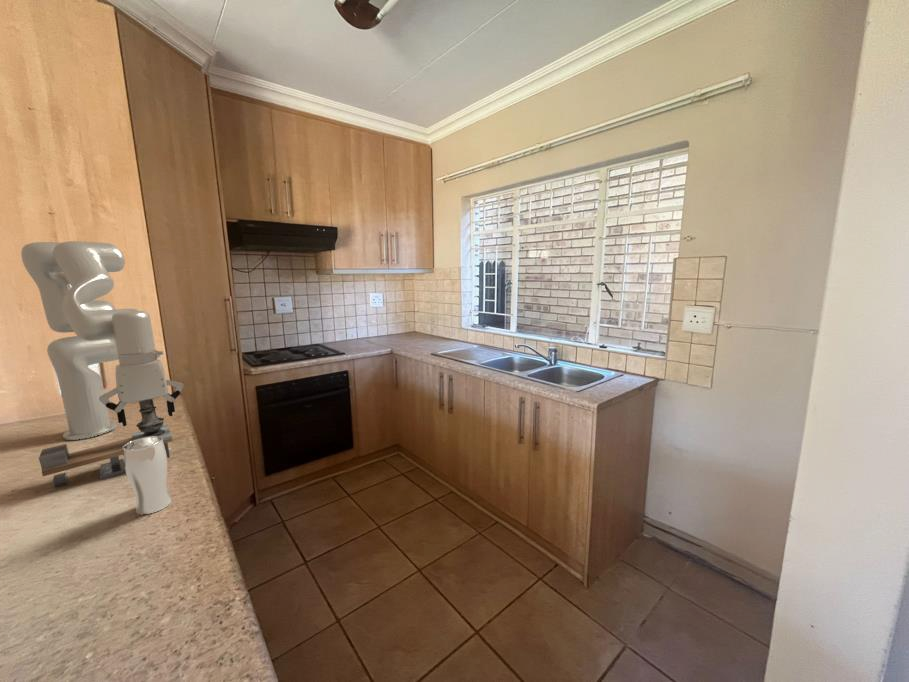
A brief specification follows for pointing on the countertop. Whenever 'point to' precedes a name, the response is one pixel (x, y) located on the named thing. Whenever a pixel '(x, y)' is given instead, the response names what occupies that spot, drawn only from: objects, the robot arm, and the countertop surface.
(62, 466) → the beam
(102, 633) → the countertop surface
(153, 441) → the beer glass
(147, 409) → the chess piece
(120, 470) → the beam stand
